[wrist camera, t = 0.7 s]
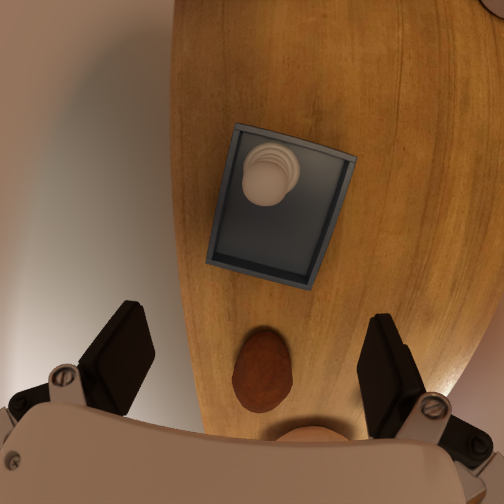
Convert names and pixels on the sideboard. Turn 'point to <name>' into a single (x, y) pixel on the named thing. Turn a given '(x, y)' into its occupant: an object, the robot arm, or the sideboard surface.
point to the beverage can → (495, 6)
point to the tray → (279, 212)
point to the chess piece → (269, 173)
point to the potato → (262, 373)
